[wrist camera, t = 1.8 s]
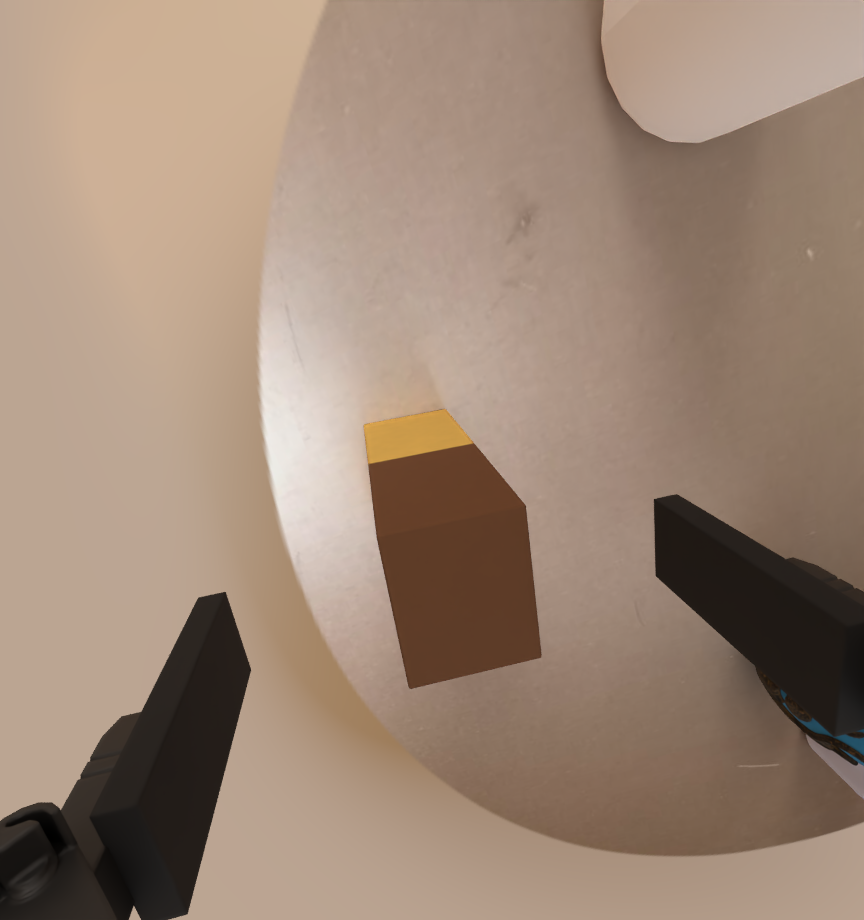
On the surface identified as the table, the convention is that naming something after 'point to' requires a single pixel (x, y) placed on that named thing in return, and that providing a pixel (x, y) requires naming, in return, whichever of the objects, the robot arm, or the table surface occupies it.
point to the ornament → (817, 726)
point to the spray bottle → (841, 767)
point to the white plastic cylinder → (726, 59)
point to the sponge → (450, 550)
